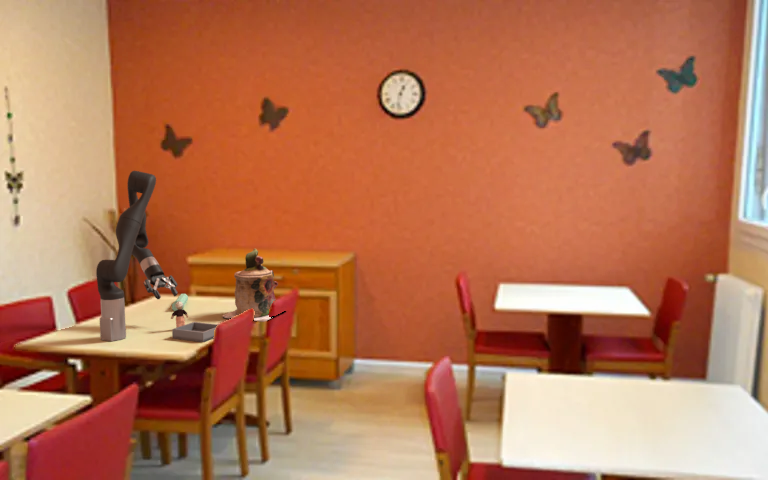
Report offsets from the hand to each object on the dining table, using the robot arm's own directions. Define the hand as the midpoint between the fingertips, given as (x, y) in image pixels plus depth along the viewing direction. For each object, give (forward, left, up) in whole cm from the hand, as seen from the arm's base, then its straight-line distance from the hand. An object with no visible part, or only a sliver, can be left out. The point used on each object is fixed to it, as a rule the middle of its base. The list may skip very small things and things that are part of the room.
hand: (167, 296), depth 301 cm
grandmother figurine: (-2, -8, -14) cm, 16 cm away
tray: (-8, -23, -14) cm, 28 cm away
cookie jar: (+36, -22, -14) cm, 44 cm away
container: (+38, +25, -14) cm, 48 cm away
